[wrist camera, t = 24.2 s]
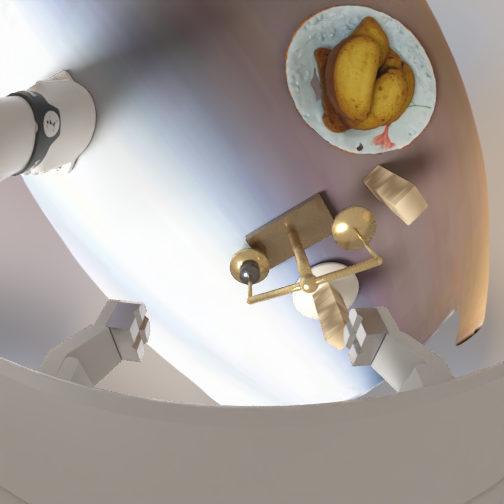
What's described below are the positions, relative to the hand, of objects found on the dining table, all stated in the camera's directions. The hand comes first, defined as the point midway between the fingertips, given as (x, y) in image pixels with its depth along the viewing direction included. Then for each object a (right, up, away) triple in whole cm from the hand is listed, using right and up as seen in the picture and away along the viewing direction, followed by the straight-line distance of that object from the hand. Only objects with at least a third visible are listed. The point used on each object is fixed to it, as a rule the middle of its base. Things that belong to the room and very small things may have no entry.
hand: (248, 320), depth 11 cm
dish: (+14, -5, +43) cm, 45 cm away
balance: (+7, +6, +37) cm, 38 cm away
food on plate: (+18, +30, +25) cm, 42 cm away
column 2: (+21, +14, +33) cm, 41 cm away
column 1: (+14, -5, +42) cm, 44 cm away
